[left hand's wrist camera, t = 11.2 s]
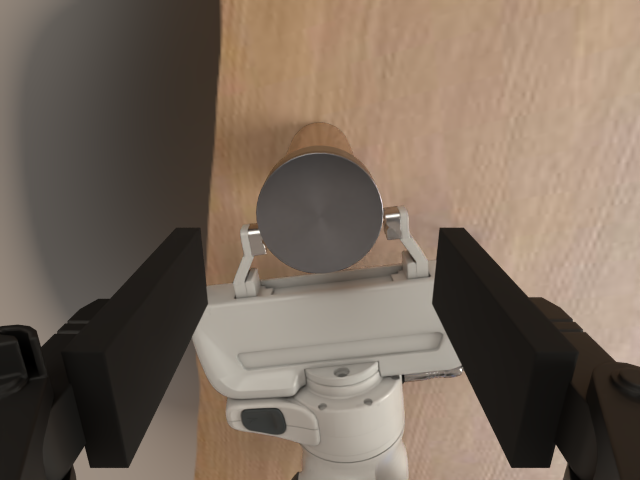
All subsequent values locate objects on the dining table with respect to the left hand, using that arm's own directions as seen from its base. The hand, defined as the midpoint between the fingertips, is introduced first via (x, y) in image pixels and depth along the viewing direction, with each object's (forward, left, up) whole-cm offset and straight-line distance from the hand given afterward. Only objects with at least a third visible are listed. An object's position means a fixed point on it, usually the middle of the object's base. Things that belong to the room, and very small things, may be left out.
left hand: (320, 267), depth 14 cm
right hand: (+3, +1, -14) cm, 15 cm away
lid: (0, 0, -6) cm, 6 cm away
